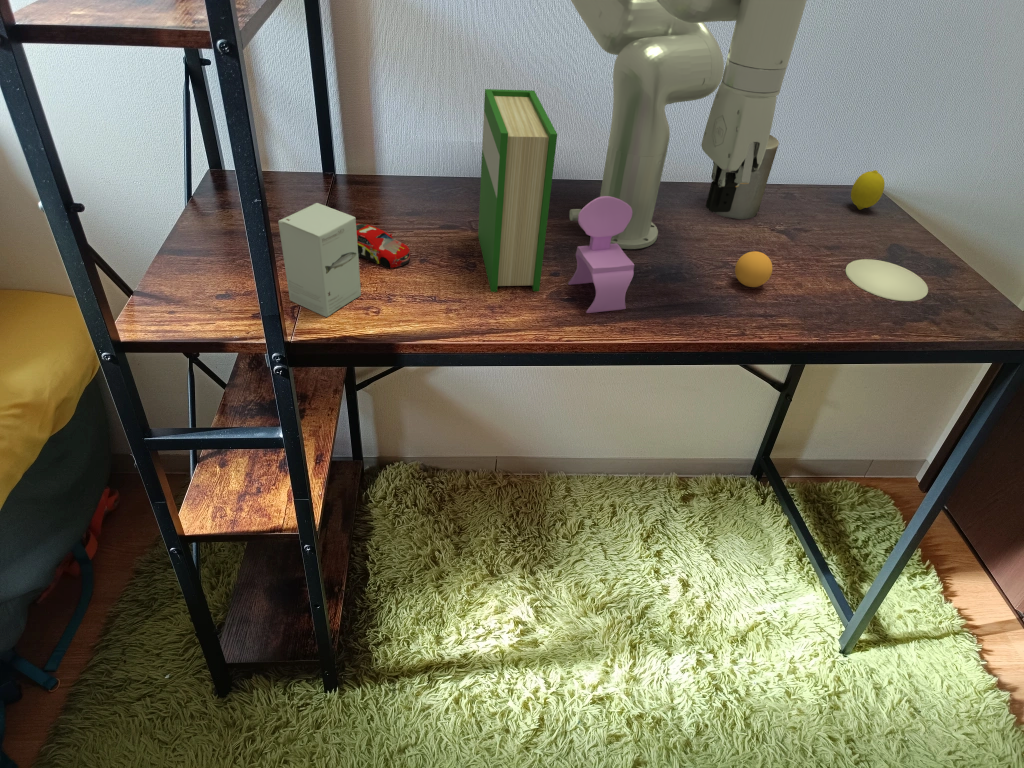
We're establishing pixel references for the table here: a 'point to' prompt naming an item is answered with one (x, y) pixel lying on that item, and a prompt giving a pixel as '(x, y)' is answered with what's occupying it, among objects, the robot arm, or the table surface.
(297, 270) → the supplement box
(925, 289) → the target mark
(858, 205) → the lemon
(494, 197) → the hardback book
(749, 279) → the ball
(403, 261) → the race car
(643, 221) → the robot arm
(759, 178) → the pillar candle
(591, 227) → the toy chair
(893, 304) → the table surface
